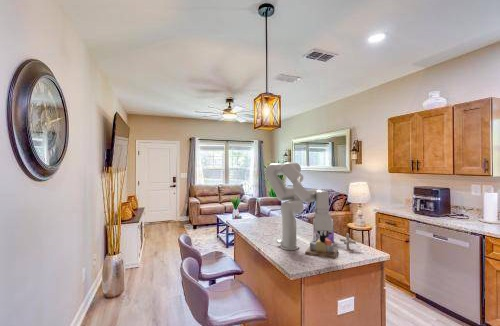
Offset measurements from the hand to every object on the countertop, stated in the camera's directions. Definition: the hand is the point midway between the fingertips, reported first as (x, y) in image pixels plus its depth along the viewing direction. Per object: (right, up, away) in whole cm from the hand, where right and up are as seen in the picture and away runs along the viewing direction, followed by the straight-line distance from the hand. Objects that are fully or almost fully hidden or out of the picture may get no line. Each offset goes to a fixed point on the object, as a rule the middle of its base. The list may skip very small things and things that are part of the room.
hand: (322, 241), depth 153 cm
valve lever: (+3, -2, +4) cm, 5 cm away
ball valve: (+2, -9, +9) cm, 13 cm away
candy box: (+11, -11, +35) cm, 38 cm away
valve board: (+2, -10, +9) cm, 14 cm away
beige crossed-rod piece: (+22, -10, +17) cm, 29 cm away
